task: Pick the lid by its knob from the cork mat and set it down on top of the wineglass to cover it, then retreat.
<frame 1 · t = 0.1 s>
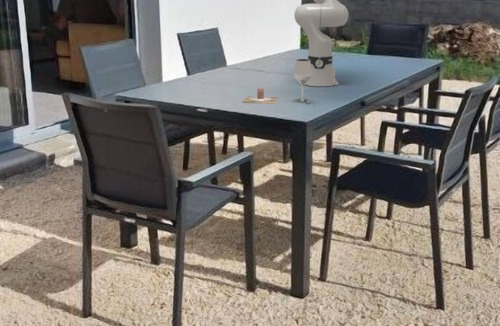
mat: (260, 101, 277), on the table
wineglass: (302, 102, 275), on the table
lid: (260, 100, 277), point 1 cm above the table, touching mat
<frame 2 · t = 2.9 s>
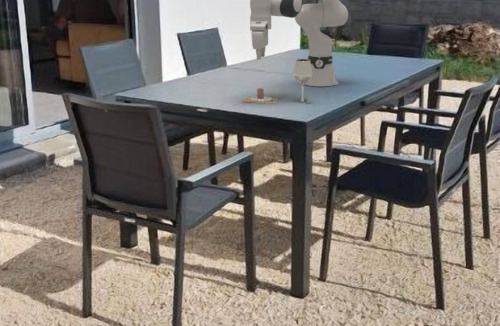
hand: (260, 58, 272), 19 cm above the table, fingers open, 8 cm apart
nothing on the table moved.
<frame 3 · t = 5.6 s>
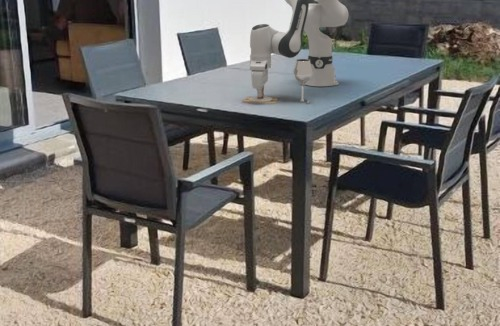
hand: (260, 95, 276), 2 cm above the table, fingers closed on lid, 3 cm apart
lid: (260, 100, 277), point 1 cm above the table, touching gripper, mat
everything else where it was.
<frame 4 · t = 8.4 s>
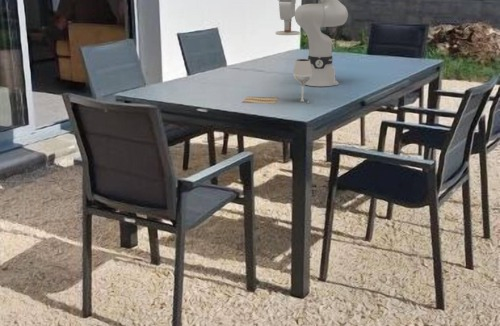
hand: (287, 29, 267), 31 cm above the table, fingers closed on lid, 3 cm apart
lid: (287, 33, 268), point 29 cm above the table, touching gripper
everything else where it was.
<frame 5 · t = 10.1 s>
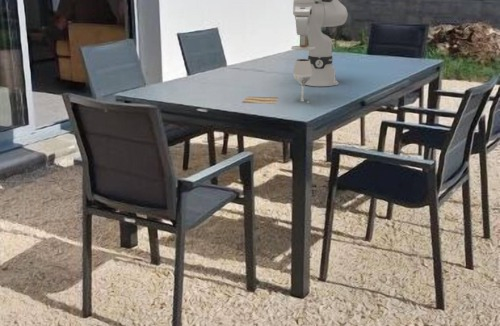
hand: (303, 44, 268), 25 cm above the table, fingers closed on lid, 3 cm apart
lid: (303, 48, 269), point 23 cm above the table, touching gripper
everything else where it was.
when the fingers open (22 cm above the table, at t = 11.3 s): lid drops 2 cm, resting on wineglass.
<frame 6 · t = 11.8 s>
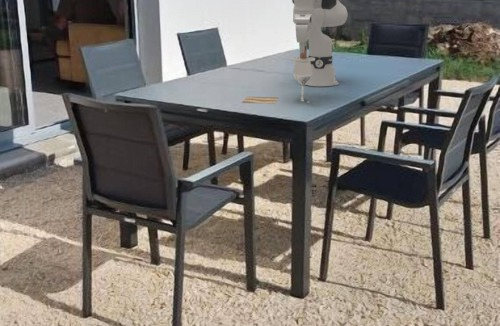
hand: (303, 51, 269), 22 cm above the table, fingers open, 8 cm apart
wineglass: (302, 102, 275), on the table, touching lid
lid: (303, 60, 270), point 18 cm above the table, touching wineglass
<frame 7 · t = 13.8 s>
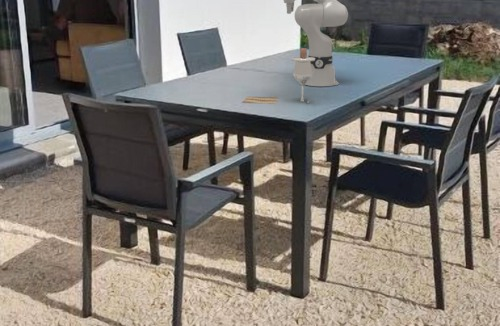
hand: (290, 12, 274), 37 cm above the table, fingers open, 8 cm apart
nothing on the table moved.
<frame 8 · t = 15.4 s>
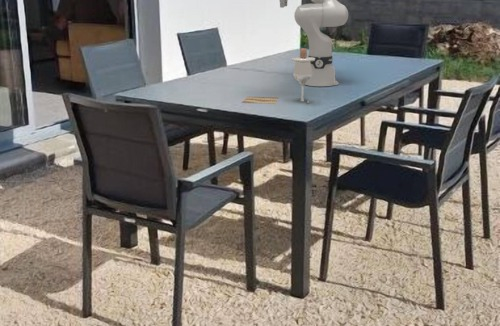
hand: (283, 6, 277), 39 cm above the table, fingers open, 8 cm apart
nothing on the table moved.
at the end: lid 0.1 cm from the wineglass (horizontally); lid point 18.0 cm above the table; wineglass tilted 0° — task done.
